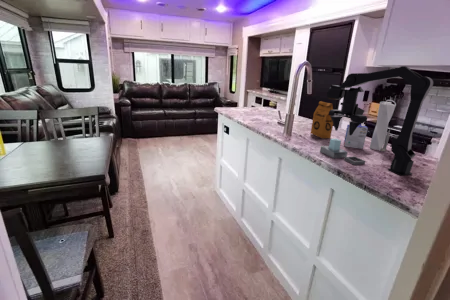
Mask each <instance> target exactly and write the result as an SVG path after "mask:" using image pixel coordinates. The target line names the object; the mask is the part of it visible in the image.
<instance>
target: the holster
mask: <svg viewBox="0 0 450 300" xmlns="http://www.w3.org/2000/svg"><path fill="white" fill-rule="evenodd" d="M343 159H344V161H345V162H348V163H349V162H350V163H349V164H351V165H354V166H359V165H365V164H366V160H364V159H362V158H360V157H357V156H356V155H354V156H347V157H344V158H343Z"/></svg>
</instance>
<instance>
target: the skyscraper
mask: <svg viewBox="0 0 450 300" xmlns="http://www.w3.org/2000/svg"><path fill="white" fill-rule="evenodd" d="M392 102H393V103H394V104H393V103H392ZM396 106H397V103H396V101H394V100H392V99H386V100H385V101H380V102H379V107H378V109H377V110H378V111H377V117H376V124H375V127H374V130H373V133H372V135H371V136H372V138H371V139H370V145H369V148H370V150H374V149H375V150H374V151H378V150H379V152H382V151H383V152H385V151H386V150H387V146H388V142H389V139H390V133H391V128H389V122H390V121H391V119H392V117H393V115H394V111H395V109H396ZM388 128H389V130H388Z"/></svg>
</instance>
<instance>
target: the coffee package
mask: <svg viewBox="0 0 450 300" xmlns="http://www.w3.org/2000/svg"><path fill="white" fill-rule="evenodd" d="M330 110H334V108H333V103H330V102H325V101H322V100H321V101H319V102H318V106H317V107H316V108H315V111H314V112H313V115H312V116H313V117H312V121H311V129H310V134H311V135H313V136H316V137H317V138H320V139H331V138H332V137H331V135H332V133H333V132H332V131H333V127H334V124H333V122H332V119H331V117H330V115H328V114H329V111H330Z"/></svg>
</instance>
